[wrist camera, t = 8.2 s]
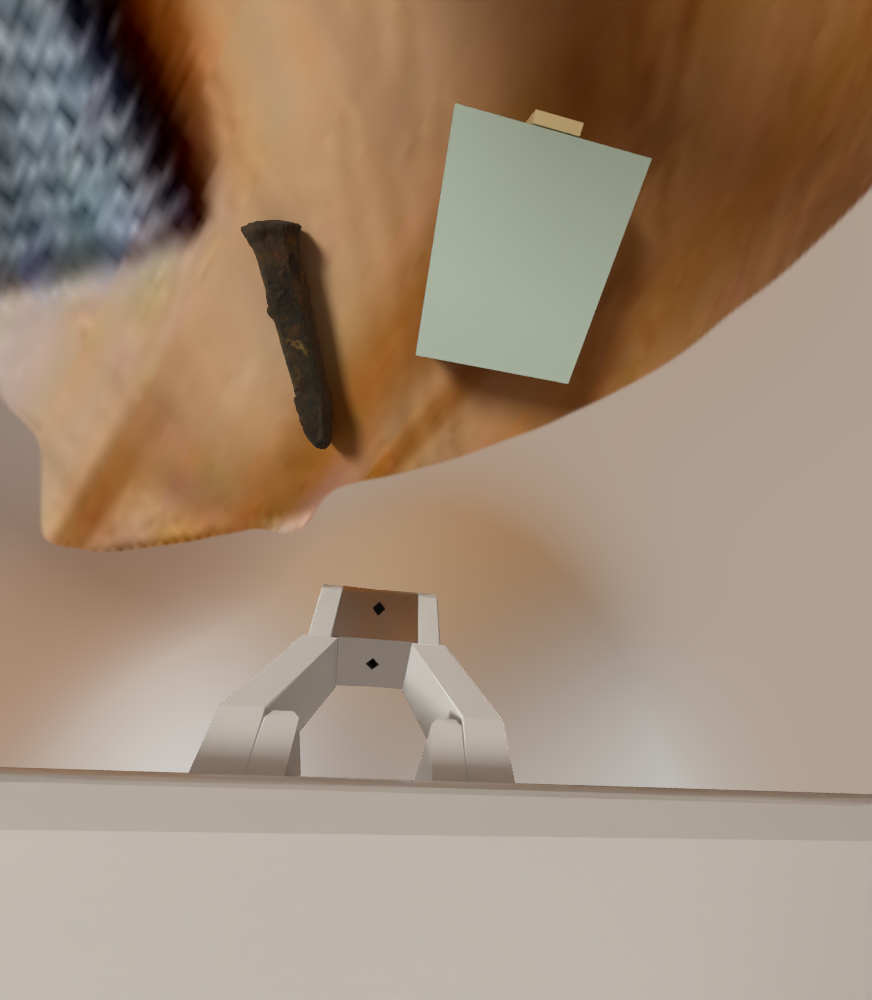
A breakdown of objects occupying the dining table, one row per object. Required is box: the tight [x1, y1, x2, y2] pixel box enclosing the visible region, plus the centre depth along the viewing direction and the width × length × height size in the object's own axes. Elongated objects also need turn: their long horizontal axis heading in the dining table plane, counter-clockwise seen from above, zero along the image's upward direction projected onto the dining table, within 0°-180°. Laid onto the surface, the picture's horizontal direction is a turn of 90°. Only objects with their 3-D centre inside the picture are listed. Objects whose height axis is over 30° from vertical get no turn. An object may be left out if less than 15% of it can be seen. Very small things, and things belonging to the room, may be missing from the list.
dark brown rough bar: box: [241, 220, 332, 449], centre depth 34 cm, size 19×4×5 cm, turn 2°
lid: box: [416, 103, 652, 384], centre depth 27 cm, size 15×12×3 cm
